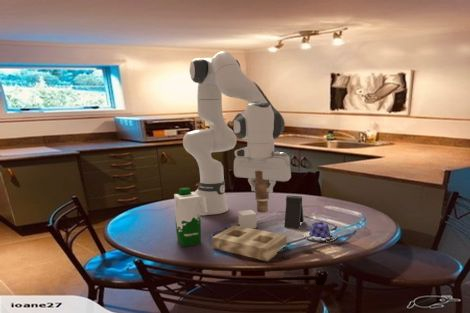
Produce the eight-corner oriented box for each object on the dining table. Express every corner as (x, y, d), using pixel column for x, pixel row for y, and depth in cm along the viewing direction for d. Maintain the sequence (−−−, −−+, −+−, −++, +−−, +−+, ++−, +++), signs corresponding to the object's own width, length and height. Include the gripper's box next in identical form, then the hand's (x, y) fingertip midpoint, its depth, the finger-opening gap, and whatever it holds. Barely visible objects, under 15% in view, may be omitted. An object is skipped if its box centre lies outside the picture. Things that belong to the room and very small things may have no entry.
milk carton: (196, 236, 138) (194, 185, 135) (204, 244, 130) (201, 190, 127) (174, 240, 135) (171, 188, 132) (180, 248, 126) (177, 194, 123)
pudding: (340, 243, 127) (340, 229, 126) (306, 244, 127) (306, 230, 126) (332, 231, 139) (332, 218, 138) (301, 232, 139) (301, 219, 138)
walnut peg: (253, 211, 120) (251, 170, 118) (259, 208, 123) (258, 168, 122) (265, 213, 117) (264, 171, 115) (271, 210, 121) (270, 169, 119)
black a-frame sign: (298, 228, 142) (298, 199, 140) (284, 227, 144) (283, 198, 143) (303, 221, 150) (303, 194, 148) (290, 220, 153) (289, 193, 151)
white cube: (238, 224, 149) (238, 211, 148) (252, 223, 151) (251, 209, 150) (242, 229, 143) (242, 215, 143) (256, 227, 145) (256, 213, 144)
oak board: (212, 247, 126) (212, 237, 125) (234, 235, 138) (234, 225, 137) (267, 261, 114) (267, 249, 113) (286, 246, 125) (286, 235, 125)
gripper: (293, 151, 114) (294, 193, 116) (240, 148, 126) (241, 187, 128) (285, 153, 109) (286, 197, 111) (230, 151, 121) (232, 190, 122)
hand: (262, 191), depth 119 cm, fingers closed on walnut peg, 4 cm apart
